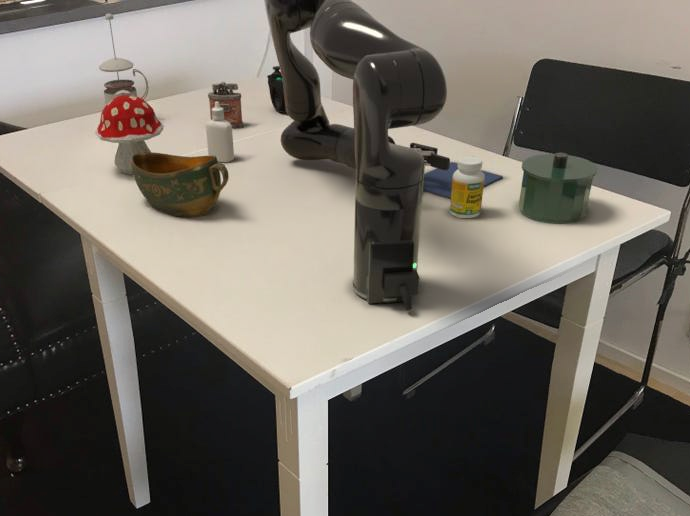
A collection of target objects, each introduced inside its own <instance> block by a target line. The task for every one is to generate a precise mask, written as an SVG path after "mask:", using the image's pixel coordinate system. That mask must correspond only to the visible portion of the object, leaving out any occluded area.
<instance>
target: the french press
mask: <svg viewBox="0 0 690 516" xmlns="http://www.w3.org/2000/svg"><path fill="white" fill-rule="evenodd" d="M104 19H105V20H106V21H108V22H109V26H110V28H109V29H110V35H111V41H112V48H113V56H114V57H113V58H110V59H107V60H105V61H103V62H102V63H101V64H100V65H99V67H98V69H99V70H100V71H101V72H105V73H116V75H117V79H112V80H109V81H106V82H104V84H103V86H104V88H106V89H104V90H103V96H104V103H105V106H106V105H107V104H108V103H109V102H110V101H111V100H112V99H114V98H116V97H118V96H121V95H133V96H137V97H138V91H137V88H136V87H135V86H134V85H135V80H132V79H120V76H119V72H125V71H129V70H132V75H133V77H136V73H138V74H140V75H141V76H142V77H143V78H144V81H145V92H144V94H143V95H142V96H141V97H140V98H141V99H143V100H144V101H145V99H146V98H147V96H148V93H149V81H148V79H147V77H146V76H145V74H144V73H143V72H142V71H141V70H139V69H136V68H133V67H134V64H135V63H134V62H132V61H130V60H129V59H126V58H122V57H116V56H117V55H116V51H115V43H114V37H113V29H112V23H111V20H114V15H113V14H112V13H106V14H105V15H104ZM121 91H126V92H121ZM119 92H120V93H119Z"/></svg>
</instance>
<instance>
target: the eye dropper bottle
mask: <svg viewBox="0 0 690 516" xmlns="http://www.w3.org/2000/svg"><path fill="white" fill-rule="evenodd" d="M212 119H213V120H211V119H210V120H209V121H207V122H206V124H205V131H206V132H205V133H206V143H207V156H209V155H215V156H216V158H217V161H218V163H229V162H232V161H233V160H235V149H234V148H235V147H234V137H233V134H234V133H233V128H232V126H231V124H230V123H229V122H228V121H226V120H224V110H223V108H221V107H220V105H219V102H215V107H214V108H213V109H212Z"/></svg>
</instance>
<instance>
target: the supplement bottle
mask: <svg viewBox="0 0 690 516" xmlns="http://www.w3.org/2000/svg"><path fill="white" fill-rule="evenodd" d="M457 164H458V170H456V171H455V172H454V174H453V180H452V192H451V199H450V205H449V213H450V214H451V215H452V216H453V217H456V218H459V219H473V218H476V217H478V216H479V215H480V214H481V210H482V205H483V204H482V203H483V195H484V188H485V187H484V179H485V176H484V173H483V172H482V171H481V170H482V167H483V159H482V158H480V157H478V156H471V155H469V156H467V155H466V156H462V157H459V158H458V160H457Z"/></svg>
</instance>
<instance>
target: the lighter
mask: <svg viewBox="0 0 690 516" xmlns="http://www.w3.org/2000/svg"><path fill="white" fill-rule="evenodd" d="M211 89H212V91H210V92H208V93H207V98H208V102H209V113H210V120H213V119H212V109H213V108H214V107H215V102H219V105H220V107H221V108H223V110H224V120H226V121H228V122H229V123H230V124H231V126H232V129H242V128H243V127H244V122H243V112H242V93H240V92H234V91H237V90H239V85H238V83H234V82H229V83H226V81H221V82H220V83H212V84H211Z"/></svg>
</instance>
